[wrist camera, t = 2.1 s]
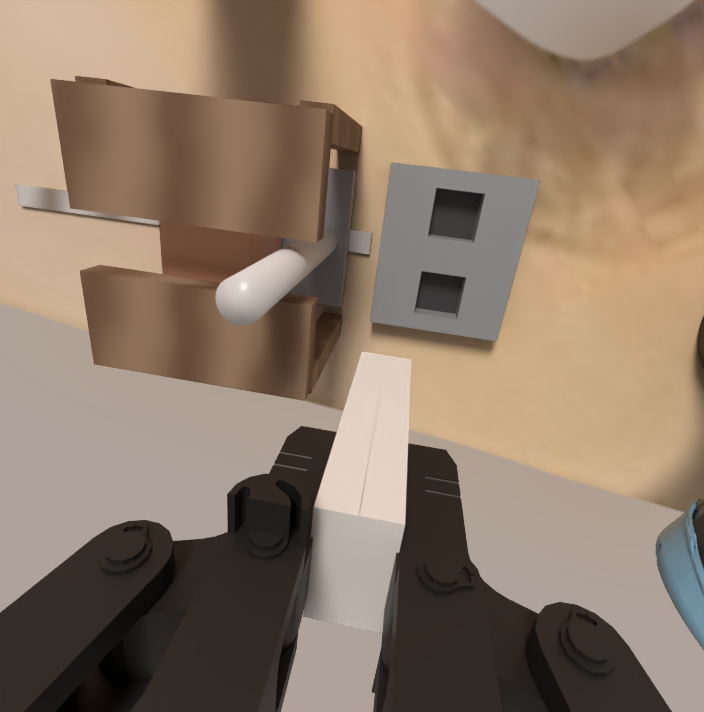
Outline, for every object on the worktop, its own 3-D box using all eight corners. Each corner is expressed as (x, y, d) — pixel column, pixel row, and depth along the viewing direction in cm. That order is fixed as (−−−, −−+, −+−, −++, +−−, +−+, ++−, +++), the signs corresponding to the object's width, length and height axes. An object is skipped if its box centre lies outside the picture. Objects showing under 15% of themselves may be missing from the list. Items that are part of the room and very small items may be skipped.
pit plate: (534, 179, 36) (540, 180, 34) (493, 333, 42) (496, 341, 40) (392, 162, 37) (391, 162, 35) (371, 315, 43) (369, 321, 41)
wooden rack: (385, 129, 36) (364, 102, 22) (359, 336, 44) (331, 411, 30) (-2, 85, 39) (-228, 38, 25) (37, 286, 47) (-120, 332, 33)
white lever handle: (356, 171, 37) (286, 169, 18) (342, 303, 42) (275, 416, 22) (182, 149, 38) (-62, 126, 19) (188, 279, 43) (-1, 367, 24)
